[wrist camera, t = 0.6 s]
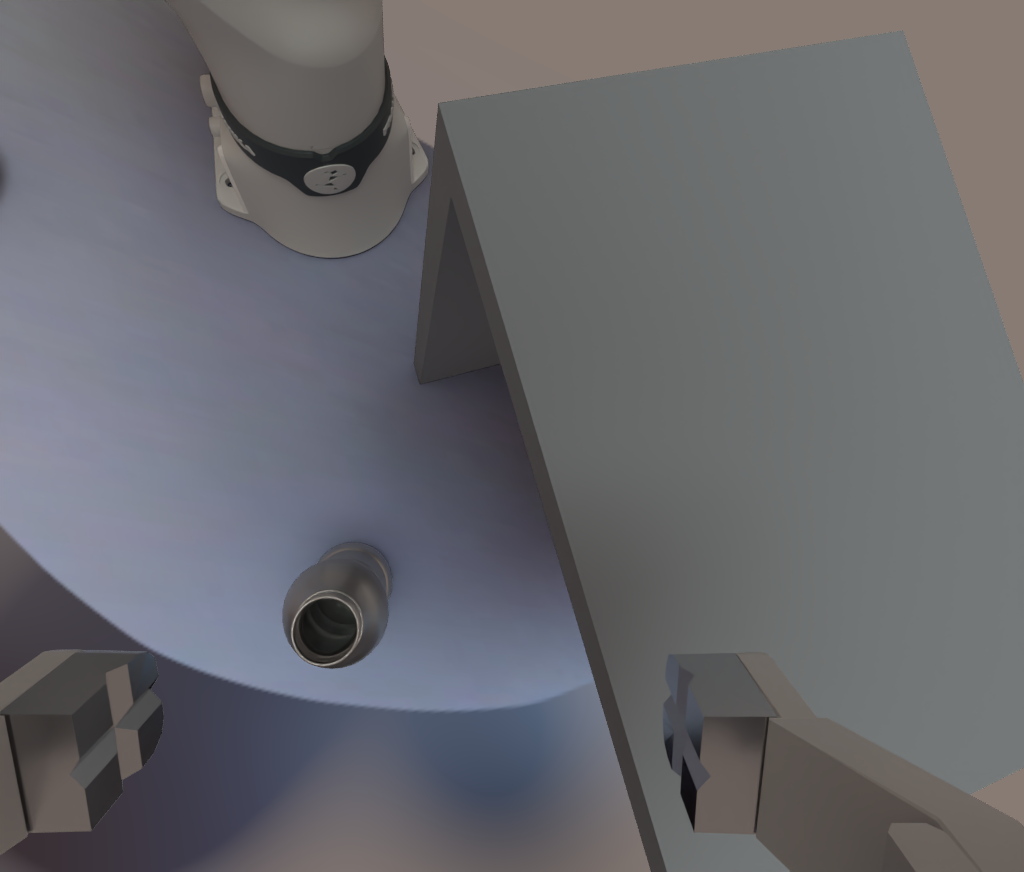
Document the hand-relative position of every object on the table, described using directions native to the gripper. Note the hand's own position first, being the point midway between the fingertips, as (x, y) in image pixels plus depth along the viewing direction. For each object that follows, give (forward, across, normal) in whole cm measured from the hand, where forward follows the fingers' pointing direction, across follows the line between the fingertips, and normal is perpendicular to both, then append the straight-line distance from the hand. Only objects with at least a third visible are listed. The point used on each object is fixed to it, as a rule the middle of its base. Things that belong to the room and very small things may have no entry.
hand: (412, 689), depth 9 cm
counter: (+44, -5, +9) cm, 46 cm away
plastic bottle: (+39, +12, +17) cm, 44 cm away
